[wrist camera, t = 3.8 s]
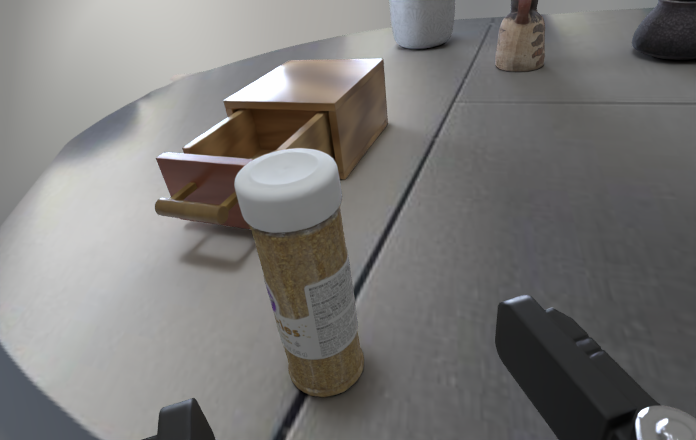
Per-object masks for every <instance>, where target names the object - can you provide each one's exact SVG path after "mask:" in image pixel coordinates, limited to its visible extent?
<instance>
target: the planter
mask: <svg viewBox="0 0 696 440" xmlns="http://www.w3.org/2000/svg"><path fill="white" fill-rule="evenodd" d="M389 4H390V15H391V23H392V30H393V35H394V39H395V41H396V42H397V44H399V45H400V46H402V47H405V48H411V49H422V48H430V47H435V46H438V45H441V44H443V43H445V42H446V41H447V40H448V39H449V38H450V36H451V34H452V30H453V24H454V13H455V0H389Z"/></svg>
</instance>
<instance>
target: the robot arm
mask: <svg viewBox="0 0 696 440" xmlns="http://www.w3.org/2000/svg"><path fill="white" fill-rule="evenodd" d="M495 344H496V349H497V352H498V354H499V357H500V359H501V360H502V362H503V364H504V365H505V366H506V368H507V369H508V371H509V372H510V373H511V375H512V376H513V377H514V379H515V380H516V382H517V383H518V384H519V386H520V387H521V388H522V390H523V391H524V392H525V394H526V395H527V397H528V398H529V399H530V401H531V402H532V403H533V405H534V406H535V408H536V409H537V410H538V412H539V413H540V414H541V416H542V417H543V418H544V420H545V421H546V423H547V424H548V425H549V427H550V428H551V429H552V431H553V432H554V434H555V435H556V436H557V438H558V439H559V440H696V419H695V418H693V417H692V416H690V415H689V414H687V413H685V412H683V411H681V410H678V409H676V408H672V407H668V406H661V405H660V404H659V403H657V402H656V401H655V400H654V399H653V398H652V397H651V396H650V395H649V394H648V393H647V392H645V391H644V390H643V389H642V388H641V387H640V386H639V385H638V384H637V383H636V382H635V381H634V380H633V379H632V378H631V377H630V376H629V375H628V374H627V373H626V372H625V371H624V370H623V369H622V368H621V367H620V366H619V365H618V364H617V363H616V362H615V361H614V360H613V359H612V358H611V357H610V356H609V355H608V354H607V353H606V352H605V351H604V350H602V349H601V347H600V346H599V345H598V344H597V343H596V342H595V341H594V340H593V339H592V338H590V337H589V336H588V334H587V333H586V332H585V331H584V330H583V329H582V328H581V327H580V326H579V325H578V324H577V323H576V322H575V321H574V320H573V319H572V318H570V317H568V316H566V315H565V314H563V313H561V312H559V311H557V310H556V309H554V308H550V309H547V310H544V309H543V308H542V307H541V306H540V305H539V304H538V303H537V302H536V300H535V299H533V298H532V297H531V296H529V295H522V296H519V297H516V298H513V299H510V300H507V301H503V302H501V303H499V305H498V313H497V324H496V336H495ZM142 440H215V437H214V434H213V431H212V429H211V428H210V426H209V424H208V422H207V420H206V418H205V416H204V414H203V412H202V410H201V408H200V406H199V404H198V402H197V401H196V399H195V398H192V399H189V400H185V401H182V402H179V403H176V404H173V405H170V406H166V407H163V408H162V409H161V410H160V413H159V421H158V433H157V435H155V436H152V437H149V438H146V439H142Z"/></svg>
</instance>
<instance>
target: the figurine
mask: <svg viewBox="0 0 696 440" xmlns="http://www.w3.org/2000/svg"><path fill="white" fill-rule="evenodd" d="M537 4H538V0H511V13H510V14H508V15H507V16H506V17H505V18H504V20H503V21H502V24H501V26H500V29H499V36H498V43H497V49H496V58H495V64H496V67H497V68H499V69H501V70H505V71H513V72H521V71H531V70H535V69H538V68H540V67H542V66H543V63H544V57H545V48H544V40H545V23H544V19H543V18H542V16H541V15H540V14H539V13H538V12H537Z"/></svg>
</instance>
